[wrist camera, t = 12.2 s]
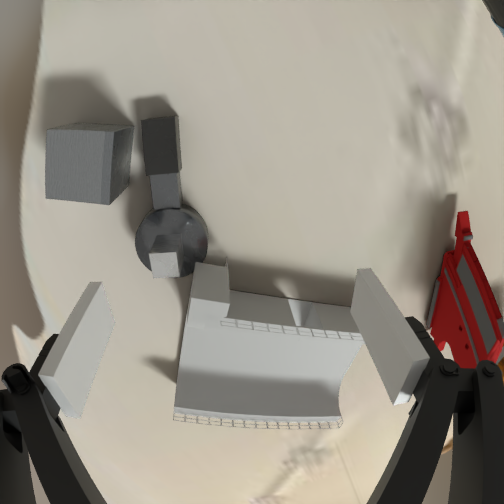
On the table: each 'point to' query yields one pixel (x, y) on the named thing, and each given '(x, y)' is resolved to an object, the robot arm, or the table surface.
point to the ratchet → (168, 207)
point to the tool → (465, 305)
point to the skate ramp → (261, 355)
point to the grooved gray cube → (88, 162)
